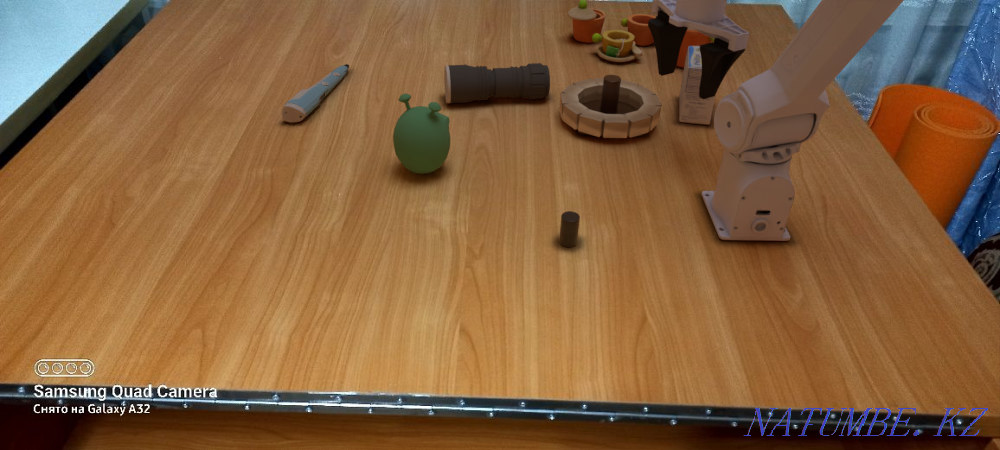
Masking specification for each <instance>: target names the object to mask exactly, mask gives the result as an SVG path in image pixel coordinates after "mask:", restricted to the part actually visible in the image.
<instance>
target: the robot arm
mask: <svg viewBox="0 0 1000 450" xmlns="http://www.w3.org/2000/svg"><path fill="white" fill-rule="evenodd" d="M727 1H728V0H652V5H651V13H653V14H656V16H655V17H656V18H654V19H650V20H649V21H648V27H649V29H650V31H651V34H652V36H653V40H654V42H653V43H654V46H655V52H656V60H657V62H656V63H657V71H658V75H659V76H662V77H663V76H667V75H671V74H674V73H675V71H676V68H677V66H676V65H677V61H678V56H679V52H680V47H681V44H682V41H683V38H684V36H685V33H686V31H687V29H688V27H689V28H692V29H694V30H696V31H699V32H701V33H703V34H705V35H707V36H709V37H711V38H713V39H714V43H712V42H711V43H707V44H703V45H700V48H699V49H700V53H701V61H702V74H701V81H700V87H699V97H700V98H702V99H707V98H710V97H714V96H715V97H716V95H715V94H717V92H718V90H719V88H720V86H721V84H722V82H723V80H724V79H725V77H726V76H727V74H728V72H729V70H730V69H731V68H732V66H733V65H734V64H735V63H736V61H737V60H739V58H740V57H741V56H742V54H744V53H745V52H746V49H747V46H748V40H749V37H750V32H749V31H747V30H745V29H743V28H742V27H740V26H739V25H738V24H737V23H736V22H734V21H733V20H732V19H731V18H730V17H728V16H727V15H726V14H725V12H726V8H727V7H726V6H727ZM904 1H905V0H820V1H819V3H818V4H817V6H816V7H815V8H814V10H813V11H812V12H811V13H810V15H809V16H808V18H807V19H806V20H805V22H804V23H803V24H802V26H801V27H800V28H799V29H798V31H797V32H796V34H795V35H794V37H792V39H791V40H790V42H789V43H788V44H787V45H786V47H785V48H784V49H783V51H782V52H781V53H780V55H779V56H778V57H777V58H776V60H775V62H774V63H772V65H771V66H770V68H769V69H767V70H765V71H763V72H761V73H759V74H757V75H755V76H753V77H751V78H749V79H748V80H745V81H744V82H742V83H741V84H740V85H739V86H738V87H737V88H736V90H735V91H734V92H732V93H730V94H727V95H725V96H723V97H722V98H721V99H720V101H719V102H718V103H717V105H716V109H715V111H714V115H713V127H714V128H713V129H714V132H715V136H716V138H717V140H718V142H719V143H720V145H721V146H722V148H723V153H722V156H721V160H720V165H719V170H718V174H717V178H716V181H715V187H714V190H703V191H701V198H702V200H703V202H704V205H705V208H706V210H707V212H708V214H709V217H710V219H711V222H712V224H713V226H714V229H715V231H716V234H717V237H718V238H719V239H720V240H723V241H774V242H775V241H776V242H781V241H783V242H788V241H790V239H791V234H790V232H789V230H788V229H787V227H786V226H787V223H788V221H789V217H790V213H791V210H792V207H793V204H794V201H795V197H796V190H795V187H794V184H793V181H792V178H791V174H790V172H791V171H790V167H791V162H792V159H793V156H794V154H797V153H799V152H800V150H801V146H802V143H805V142H808V141H810V140H812V138H813V137H815V135H816V133H817V132H818V129H819V127H820V123H821V121H822V118H823V116H824V114H826V112H827V111H828V109H830V107H831V104H830V100H829V96H828V93H827V88H828V87H829V86H830V85H831V84H832V82H833V81H834V80H835V79H836V78H837V77H838V75H840V73H841V72H842V71H843V70H844V69H845V68H846V67H847V65H848V64H849V63H850V62H851V61H852V60H853V59H854V58H855V56H856V55H857V54H858V53H859V52H860V51H861V50H862V49H863V48H864V47H865V45H866V44H867V43H868V42H869V41H870V40H871V38H873V36H874V35H875V34H876V33H877V32H878V31H879V29H880V28H881V27H882V26H883V25H884V24H885V22H886V21H887V20H889V18H890V17H891V16H892V14H893V13H894V12H896V10H897V9H898V8H899V7H900V6H901V4H903V2H904Z"/></svg>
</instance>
